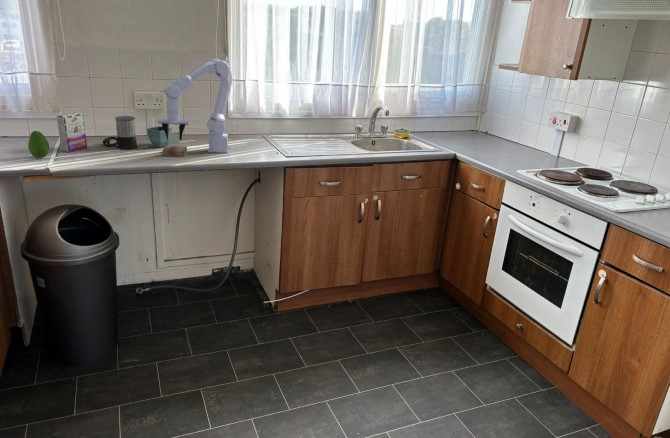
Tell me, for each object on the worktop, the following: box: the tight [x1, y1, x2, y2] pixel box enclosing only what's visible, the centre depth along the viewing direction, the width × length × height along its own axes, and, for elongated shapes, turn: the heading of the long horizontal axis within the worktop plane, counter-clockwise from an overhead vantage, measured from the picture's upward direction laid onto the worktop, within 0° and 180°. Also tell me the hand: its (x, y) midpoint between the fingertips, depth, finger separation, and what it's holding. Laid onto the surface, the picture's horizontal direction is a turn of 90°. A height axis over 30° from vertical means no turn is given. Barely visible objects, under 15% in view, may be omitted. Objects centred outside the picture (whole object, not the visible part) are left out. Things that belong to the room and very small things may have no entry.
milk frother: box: [102, 115, 138, 151], centre depth 245 cm, size 14×16×15 cm
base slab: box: [162, 145, 188, 158], centre depth 243 cm, size 10×10×2 cm
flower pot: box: [146, 125, 173, 148], centre depth 253 cm, size 9×9×9 cm
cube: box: [168, 131, 182, 146], centre depth 240 cm, size 5×5×5 cm
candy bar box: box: [56, 112, 88, 153], centre depth 235 cm, size 11×5×16 cm, turn 161°
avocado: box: [27, 130, 50, 159], centre depth 219 cm, size 8×8×12 cm
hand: (174, 139), depth 241 cm, fingers closed on cube, 5 cm apart
